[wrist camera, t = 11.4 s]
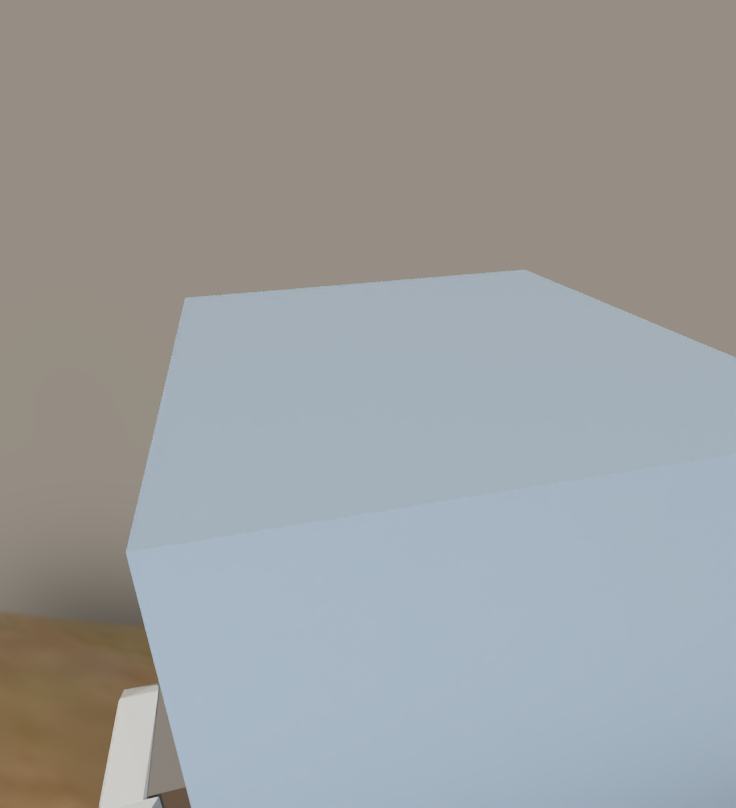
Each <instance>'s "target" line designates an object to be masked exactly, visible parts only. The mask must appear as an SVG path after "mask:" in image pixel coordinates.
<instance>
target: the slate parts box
mask: <svg viewBox="0 0 736 808" xmlns="http://www.w3.org/2000/svg"><path fill="white" fill-rule="evenodd" d="M126 555H127V559H128V562H129V567H130V571H131V574H132V578H133V582H134V586H135V590H136V594H137V597H138V602H139V606H140V609H141V614H142V617H143V622H144V625H145V629H146V633H147V637H148V641H149V645H150V649H151V653H152V657H153V661H154V664H155V668H156V672H157V676H158V680H159V684H160V688H161V692H162V696H163V700H164V704H165V707H166V711H167V715H168V719H169V723H170V727H171V731H172V735H173V739H174V743H175V746H176V750H177V754H178V758H179V762H180V766H181V770H182V774H183V778H184V782H185V786H186V789H187V793H188V797H189V801H190V805H191V808H736V357H733V356H731V355H729V354H726V353H724V352H722V351H719V350H717V349H714V348H712V347H710V346H707V345H705V344H702V343H700V342H697V341H695V340H693V339H690V338H688V337H685V336H683V335H680V334H678V333H676V332H673V331H671V330H668V329H666V328H664V327H661V326H659V325H657V324H654V323H652V322H649V321H647V320H645V319H642V318H640V317H637V316H635V315H633V314H630V313H628V312H625V311H623V310H620V309H618V308H616V307H613V306H611V305H609V304H606V303H604V302H601V301H599V300H597V299H594V298H592V297H589V296H587V295H585V294H582V293H580V292H577V291H575V290H573V289H570V288H568V287H565V286H563V285H561V284H558V283H555V282H553V281H551V280H548V279H546V278H544V277H541V276H539V275H536V274H534V273H532V272H529V271H527V270H516V271H504V272H492V273H481V274H480V273H479V274H467V275H455V276H443V277H432V278H420V279H407V280H396V281H383V282H372V283H359V284H347V285H336V286H323V287H311V288H300V289H289V290H276V291H263V292H251V293H239V294H228V295H216V296H203V297H191V298H185V301H184V306H183V310H182V315H181V318H180V323H179V327H178V332H177V336H176V340H175V344H174V349H173V353H172V357H171V361H170V366H169V370H168V374H167V379H166V383H165V387H164V391H163V396H162V400H161V404H160V409H159V413H158V417H157V422H156V426H155V430H154V435H153V438H152V443H151V447H150V451H149V456H148V460H147V464H146V468H145V473H144V477H143V481H142V486H141V490H140V495H139V499H138V503H137V507H136V511H135V516H134V520H133V525H132V528H131V533H130V537H129V541H128V546H127V550H126Z"/></svg>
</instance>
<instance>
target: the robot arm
mask: <svg viewBox="0 0 736 808" xmlns="http://www.w3.org/2000/svg"><path fill="white" fill-rule="evenodd" d="M99 808H191V805H190V801H189V797H188V793H187V789H186V786H185V782H184V778H183V774H182V770H181V766H180V762H179V758H178V754H177V750H176V746H175V743H174V739H173V735H172V731H171V727H170V723H169V719H168V715H167V711H166V707H165V704H164V700H163V696H162V692H161V688H160V684H159V683H158V684H152V685H147V686H142V687H136V688H131V689H126V690H124V691H123V693H122V695H121V697H120V700H119V702H118V707H117V713H116V718H115V723H114V729H113V734H112V739H111V745H110V750H109V755H108V761H107V766H106V771H105V777H104V782H103V787H102V793H101V798H100V803H99Z"/></svg>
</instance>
